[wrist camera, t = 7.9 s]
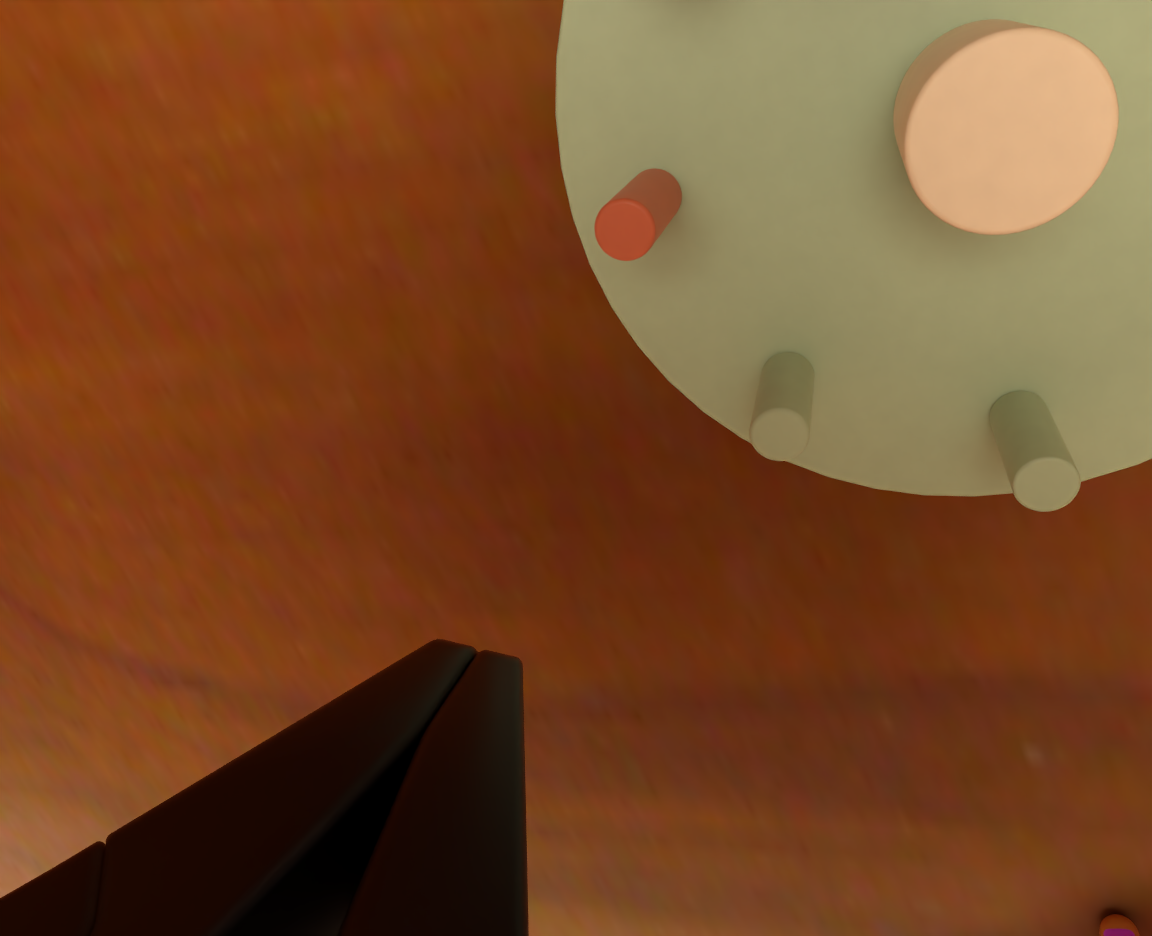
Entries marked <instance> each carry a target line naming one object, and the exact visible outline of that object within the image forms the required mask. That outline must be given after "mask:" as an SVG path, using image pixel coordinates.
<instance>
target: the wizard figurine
mask: <svg viewBox="0 0 1152 936" xmlns="http://www.w3.org/2000/svg"><path fill="white" fill-rule="evenodd" d="M1099 933H1100V936H1140V935H1139V932H1138V929H1137V927H1136V926H1135V924H1134V923H1133V922H1132V921H1131V920H1129V919H1128V918H1126V917H1125V916H1122V915H1117V914H1113V915H1109V916H1107V917H1105V918H1104V919H1103V920H1102V922H1101V924H1100V928H1099Z"/></svg>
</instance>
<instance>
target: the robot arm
mask: <svg viewBox="0 0 1152 936" xmlns="http://www.w3.org/2000/svg"><path fill="white" fill-rule="evenodd" d="M0 936H529V933H528V887H527V841H526V795H525V749H524V703H523V666H522V662H521V660H520V659H519V658H517V657H514V656H509V655H505V654H501V653H497V652H493V651H489V650H483V651H481V652H479V653H478V652H477V651H476V649H475V648H474V647H472V646H468V645H464V644H460V643H455V642H451V641H447V640H443V639H436V640H433V641H431V642H429V643H427V644H425V645H424V646H422V647H420V648H419V649H417V650H415V651H414V652H412V653H410V654H409V655H407V656H405V657H404V658H402V659H400V660H399V661H397V662H395V663H394V664H392V665H390V666H389V667H387V668H385V669H384V670H382V671H380V672H379V673H377V674H375V675H374V676H372V677H370V678H369V679H367V680H365V681H364V682H362V683H360V684H359V685H357V686H355V687H354V688H352V689H350V690H349V691H347V692H345V693H344V694H342V695H341V696H339V697H337V698H336V699H334V700H332V701H331V702H329V703H327V704H326V705H324V706H322V707H321V708H319V709H317V710H316V711H314V712H312V713H311V714H309V715H307V716H306V717H304V718H302V719H301V720H299V721H297V722H296V723H294V724H292V725H291V726H289V727H287V728H286V729H284V730H282V731H281V732H279V733H277V734H276V735H274V736H272V737H271V738H269V739H267V740H266V741H264V742H262V743H261V744H259V745H257V746H256V747H254V748H252V749H251V750H249V751H247V752H246V753H244V754H242V755H241V756H239V757H237V758H236V759H234V760H232V761H231V762H229V763H227V764H226V765H224V766H222V767H221V768H219V769H217V770H216V771H214V772H213V773H211V774H209V775H208V776H206V777H204V778H203V779H201V780H199V781H198V782H196V783H194V784H193V785H191V786H189V787H188V788H186V789H184V790H183V791H181V792H179V793H178V794H176V795H174V796H173V797H171V798H169V799H168V800H166V801H164V802H163V803H161V804H159V805H158V806H156V807H154V808H153V809H151V810H149V811H148V812H146V813H144V814H143V815H141V816H139V817H138V818H136V819H134V820H133V821H131V822H129V823H128V824H126V825H124V826H123V827H121V828H119V829H118V830H116V831H114V832H113V833H111V834H110V835H108V837H107V839H106V845H105V844H104V843H103V842H101V841H98V842H96V843H94V844H92V845H90V846H89V847H87V848H86V849H84V850H82V851H81V852H79V853H77V854H76V855H74V856H72V857H71V858H69V859H67V860H66V861H64V862H62V863H61V864H59V865H57V866H56V867H54V868H52V869H50V870H49V871H47V872H45V873H43V874H42V875H40V876H38V877H37V878H35V879H33V880H31V881H30V882H28V883H26V884H24V885H23V886H21V887H19V888H17V889H16V890H14V891H12V892H10V893H9V894H7V895H5V896H3V897H2V898H0Z"/></svg>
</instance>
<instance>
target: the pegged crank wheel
mask: <svg viewBox="0 0 1152 936" xmlns="http://www.w3.org/2000/svg"><path fill="white" fill-rule="evenodd" d="M555 114H556V124H557V133H558V143H559V152H560V162H561V169H562V173H563V178H564V182H565V187H566V191H567V195H568V200H569V204H570V208H571V213H572V217H573V220H574V223H575V225H576V228H577V231H578V234H579V236H580V239H581V242H582V245H583V248H584V250H585V253H586V256H587V259H588V261H589V264H590V266H591V268H592V270H593V272H594V274H595V276H596V278H597V280H598V282H599V284H600V286H601V288H602V290H603V292H604V293H605V295H606V297H607V299H608V301H609V303H610V305H611V307H612V309H613V310H614V312H615V313H616V315H617V316H618V318H619V319H620V320H621V322H622V323H623V325H624V326H625V328H626V329H627V331H628V332H629V334H630V335H631V337H632V338H633V340H634V341H635V343H636V344H637V345H638V347H639V348H640V349H641V350H642V351H643V353H644V354H645V355H646V356H647V357H648V358H649V359H650V360H651V362H652V363H653V364H654V365H655V366H656V367H657V368H658V370H659V371H660V372H661V373H662V374H663V375H664V376H665V378H666V379H667V380H668V381H669V382H670V383H671V384H672V385H674V386H675V387H676V388H677V389H678V390H679V391H680V392H681V393H683V394H684V395H685V396H686V397H687V398H688V399H689V400H690V401H692V402H693V403H694V404H695V405H696V406H697V407H698V408H700V409H701V410H702V411H703V412H704V413H706V414H707V415H708V416H710V417H711V418H713V419H714V420H716V421H717V422H719V423H720V424H722V425H723V426H725V427H726V428H727V429H729V430H730V431H732V432H733V433H735V434H736V435H738V436H739V437H741V438H742V439H744V440H746V441H748V442H750V443H752V445H753V447H754V448H755V450H756V451H757V452H758V453H759V454H761V455H762V456H764V457H765V458H768V459H770V460H774V461H787V462H790V463H792V464H795V465H798V466H800V467H803V468H806V469H808V470H811V471H814V472H816V473H819V474H822V475H824V476H827V477H830V478H834V479H838V480H842V481H846V482H850V483H854V484H858V485H862V486H866V487H870V488H874V489H881V490H889V491H896V492H904V493H911V494H919V495H936V496H985V495H997V494H1009V493H1013V494H1014V496H1015V498H1016V499H1017V500H1018V502H1020V503H1021V504H1022V505H1023V506H1025V507H1027V508H1029V509H1032V510H1035V511H1041V512H1047V511H1054V510H1057V509H1060V508H1062V507H1064V506H1066V505H1067V504H1069V503H1070V502H1071V501H1072V500H1073V499H1074V498H1075V496H1076V495H1077V493H1078V491H1079V488H1080V483H1081V482H1082V481H1085V480H1089V479H1092V478H1095V477H1098V476H1102V475H1105V474H1108V473H1112V472H1115V471H1118V470H1122V469H1125V468H1128V467H1132V466H1135V465H1138V464H1140V463H1142V462H1145V461H1147V460H1150V459H1152V0H564V2H563V10H562V18H561V25H560V33H559V40H558V48H557V56H556V110H555Z"/></svg>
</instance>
